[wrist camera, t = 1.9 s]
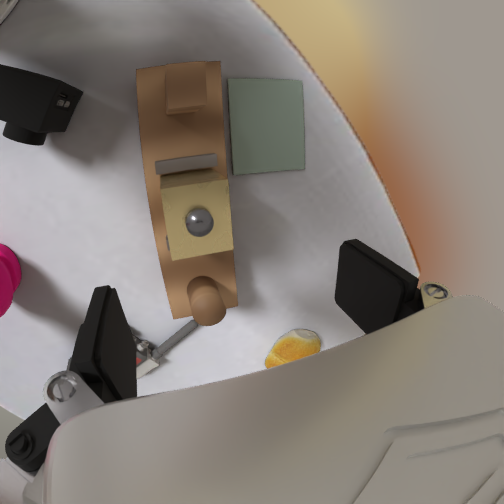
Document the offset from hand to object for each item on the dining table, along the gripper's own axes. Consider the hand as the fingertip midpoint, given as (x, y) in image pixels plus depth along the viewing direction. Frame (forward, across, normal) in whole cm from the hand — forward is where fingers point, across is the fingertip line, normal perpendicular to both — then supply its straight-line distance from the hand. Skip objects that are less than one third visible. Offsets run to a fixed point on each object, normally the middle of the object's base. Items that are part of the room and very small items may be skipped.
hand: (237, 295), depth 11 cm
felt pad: (+19, -9, -6) cm, 22 cm away
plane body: (+19, 0, 0) cm, 19 cm away
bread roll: (+20, -12, +25) cm, 34 cm away
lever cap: (+15, 0, 0) cm, 15 cm away
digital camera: (+19, +15, -13) cm, 27 cm away
